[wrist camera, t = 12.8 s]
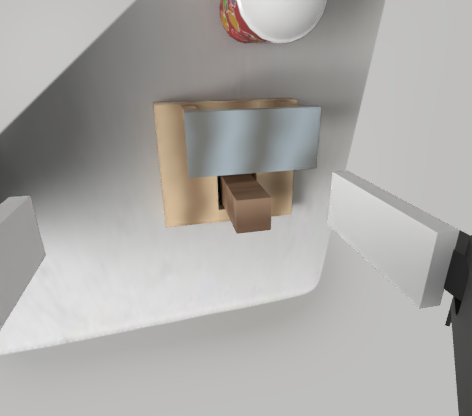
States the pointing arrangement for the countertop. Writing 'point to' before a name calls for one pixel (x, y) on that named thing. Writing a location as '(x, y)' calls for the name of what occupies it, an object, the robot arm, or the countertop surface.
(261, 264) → the countertop surface
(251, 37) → the smoothie
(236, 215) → the peg
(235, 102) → the socket board
